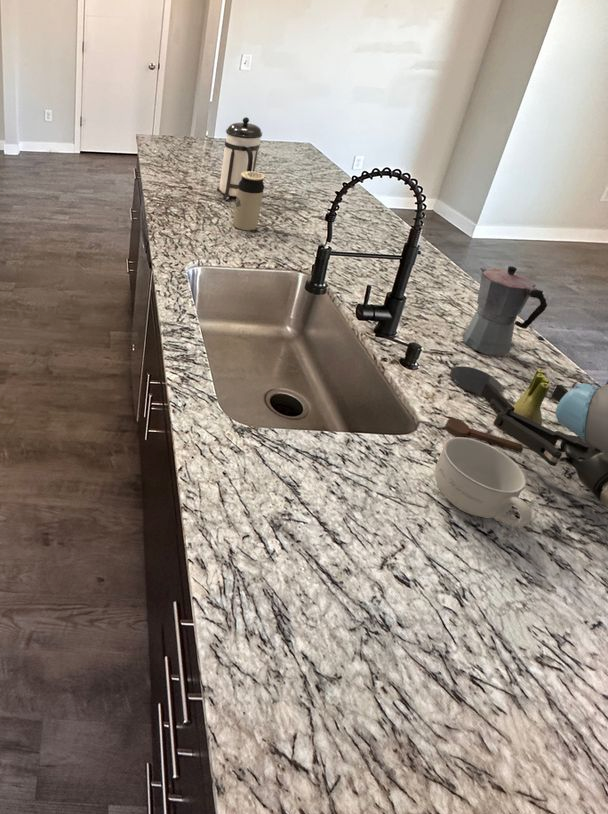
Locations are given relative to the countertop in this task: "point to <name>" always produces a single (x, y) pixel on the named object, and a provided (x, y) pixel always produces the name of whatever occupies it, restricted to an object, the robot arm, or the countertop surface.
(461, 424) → the wooden spoon
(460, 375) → the slate coaster
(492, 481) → the teacup
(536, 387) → the fennel bulb
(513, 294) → the moka pot
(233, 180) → the coffee press
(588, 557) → the countertop surface
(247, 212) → the travel mug
